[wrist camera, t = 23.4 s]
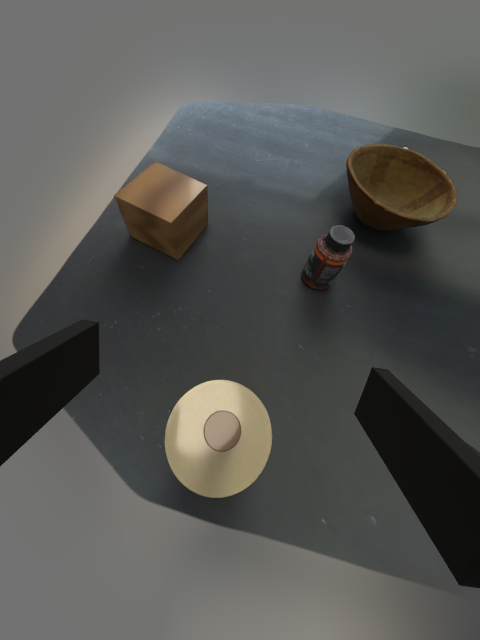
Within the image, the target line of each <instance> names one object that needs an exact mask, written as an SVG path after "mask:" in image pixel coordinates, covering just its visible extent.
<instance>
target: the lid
mask: <svg viewBox="0 0 480 640" xmlns="http://www.w3.org/2000/svg"><path fill="white" fill-rule="evenodd" d="M271 445H272V429H271V423H270V419H269V416H268V413H267V411H266V409H265V407H264V405H263V404H262V402H261V401H260V400H259V398H258V397H257V396H256V395H255V394H254V393H253V392H252V391H251V390H249V389H248V388H246V387H245V386H243V385H241V384H239V383H236V382H233V381H228V380H213V381H208V382H204V383H202V384H199V385H197V386H196V387H194V388H192V389H191V390H189V391H188V392H187V393H186V394H185V395H184V396H182V398H181V399H180V400H179V401H178V402H177V404H176V405H175V407H174V408H173V410H172V412H171V414H170V417H169V419H168V422H167V426H166V432H165V450H166V456H167V459H168V462H169V465H170V467H171V469H172V471H173V473H174V474H175V476H176V477H177V479H178V480H179V481H180V482H181V483H182V484H183V485H184V486H185V487H186V488H188V489H189V490H191V491H192V492H194V493H196V494H199V495H202V496H205V497H211V498H223V497H228V496H232V495H234V494H237V493H239V492H241V491H243V490H244V489H246V488H247V487H248V486H250V485H251V484H252V483H253V482H254V481H255V480H256V479H257V478H258V476H259V475H260V474H261V472H262V471H263V469H264V467H265V465H266V463H267V461H268V458H269V455H270V451H271Z"/></svg>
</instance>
